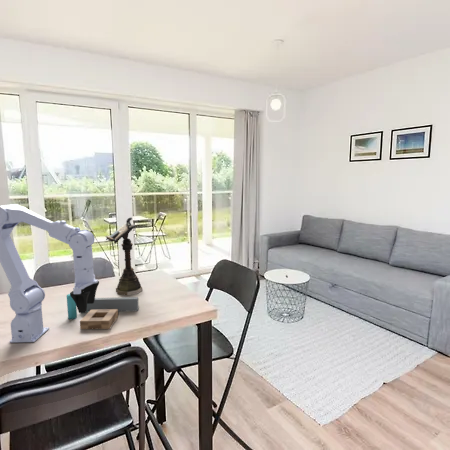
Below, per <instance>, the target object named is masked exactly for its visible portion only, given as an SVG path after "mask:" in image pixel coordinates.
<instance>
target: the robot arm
mask: <svg viewBox="0 0 450 450" xmlns="http://www.w3.org/2000/svg"><path fill="white" fill-rule="evenodd" d="M20 223H25V224H28V225H29V226H33V227H35V228H38V229H41V230H44V231H46V232H47V233H48V235H49V237H50V238H53V239H55V240H58V241H60V242H62V243H64V244H67V245H68V246H69V247H70V249H71V250H72V256H73V270H74V271H73V272H74V284H73V285H74V287H73V288H72V291H70V293H69V294H70V296H71V297H72V299H73V300H74V302H75V304H76V309H77V312H78V313H80V314H83V313H84V314H85V313H86V314H87V312H86V310H87V304H92V303H94V301H95V298H96V295H97V294H96V293H97V289H98V287H99V284H100V281H99V279H96V274H95V271H94V255H93V246H92V245H93V244H94V242H95V236H94V233H92V232H91V231H90V230H89V229H81V228H80V227H75V226H72V225H71V224H68V223H67V221H66V220H64V219H63V220H56V221H52V220H50V219H48V218H46V217H44V216H42V215H41V214H38V213H36V212H34V211H32V210H31V209H28V208H27V206H24V205H20V204H18V203H9V204H3V205H2V204H1V205H0V265H1V267H2V269H3V271H4V273H5V275H6V278H7V280H8V282H9V284H10V285H11V286H10V288H9V291H8V293H7V296H8V298H9V306H10V308H11V310H12V311H13V312H15V313H14V314H15V315H14V318H12V320H11V321H10V333H11V339H10V340H9V343H34V342H36V341H37V340H38V339H39V338H41V337H42V336H43V335H44V334H46V332H48V331H49V330H50V327H44V321H43V310H42V309H43V308H42V305H43V304H42V303H43V301H44V300H45V297H46V292H45V290H44V288H42V287H41V286H40V285H39V284H38V282H37V280H34V279H32V278H30V276H29V273H28V272H27V269H26V267H25V265H24V262H23V261H22V258H21V257H20V254H19V252H18V250H17V248H16V246H15V243H14V242H13V240H12V238H11V234H12V232H13V230H14V229H15V227H16V226H17V225H19V224H20Z"/></svg>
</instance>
